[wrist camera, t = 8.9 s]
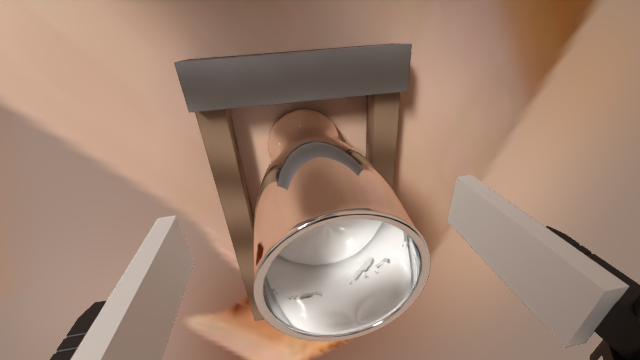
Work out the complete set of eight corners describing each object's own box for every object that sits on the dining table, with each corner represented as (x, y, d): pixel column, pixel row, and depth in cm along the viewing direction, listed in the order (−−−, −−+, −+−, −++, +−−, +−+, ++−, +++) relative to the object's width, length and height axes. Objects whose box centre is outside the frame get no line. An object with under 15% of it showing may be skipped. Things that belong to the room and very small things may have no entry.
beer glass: (359, 129, 23) (474, 249, 10) (317, 191, 25) (364, 357, 12) (288, 86, 20) (314, 168, 7) (248, 159, 23) (212, 325, 9)
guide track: (188, 59, 18) (174, 62, 16) (393, 43, 20) (411, 43, 17) (255, 306, 31) (254, 331, 28) (379, 285, 33) (388, 306, 30)
